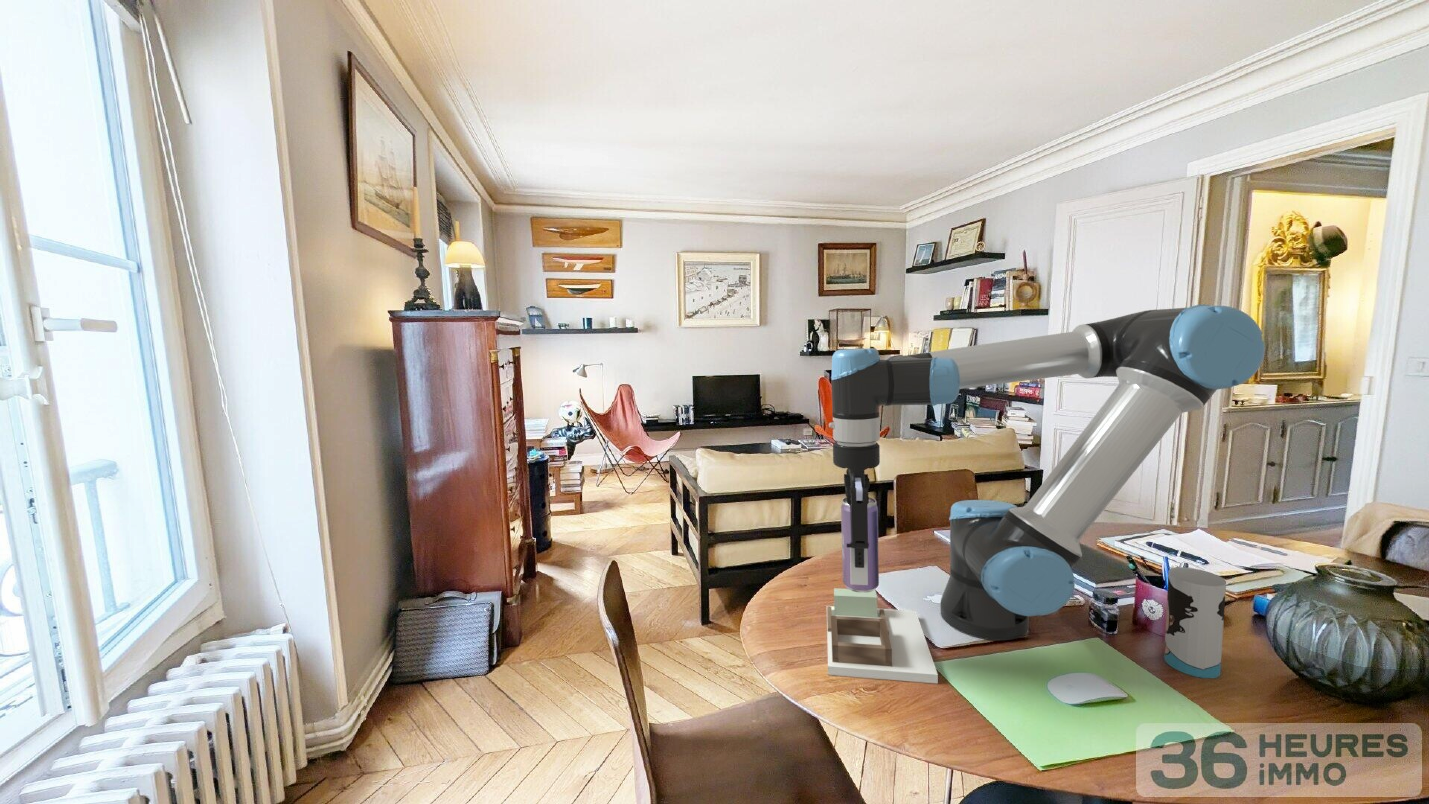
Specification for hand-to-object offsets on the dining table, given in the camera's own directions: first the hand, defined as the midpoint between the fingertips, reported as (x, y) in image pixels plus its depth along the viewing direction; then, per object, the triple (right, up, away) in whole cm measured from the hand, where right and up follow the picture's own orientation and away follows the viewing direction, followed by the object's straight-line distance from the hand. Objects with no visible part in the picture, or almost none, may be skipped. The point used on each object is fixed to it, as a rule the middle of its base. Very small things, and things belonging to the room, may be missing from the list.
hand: (857, 574), depth 89 cm
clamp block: (+3, -12, +13) cm, 18 cm away
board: (+5, -14, +5) cm, 16 cm away
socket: (+1, -13, +1) cm, 13 cm away
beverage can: (+1, -2, 0) cm, 2 cm away
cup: (+52, -13, -5) cm, 54 cm away
